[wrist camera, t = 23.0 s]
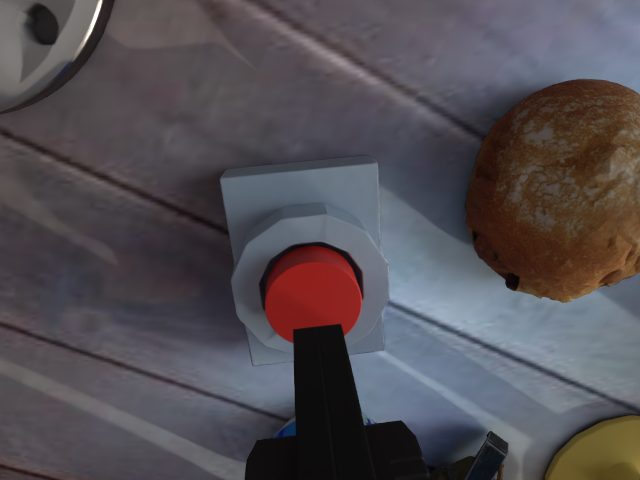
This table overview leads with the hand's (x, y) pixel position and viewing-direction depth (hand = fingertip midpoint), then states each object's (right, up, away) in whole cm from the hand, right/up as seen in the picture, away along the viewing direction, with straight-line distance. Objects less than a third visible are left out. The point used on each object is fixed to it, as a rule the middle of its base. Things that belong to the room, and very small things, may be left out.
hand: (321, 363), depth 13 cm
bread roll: (+12, +7, +9) cm, 16 cm away
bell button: (0, +2, +5) cm, 6 cm away
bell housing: (-1, +3, +9) cm, 9 cm away
